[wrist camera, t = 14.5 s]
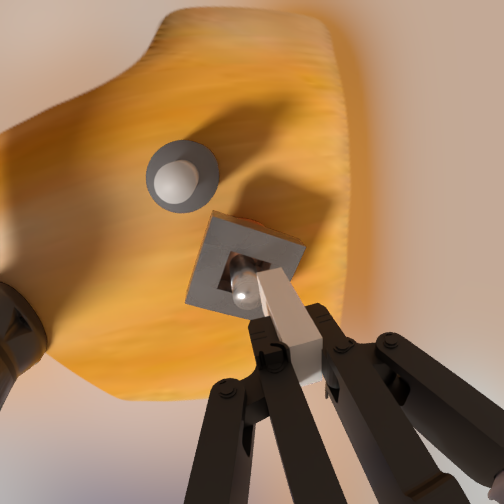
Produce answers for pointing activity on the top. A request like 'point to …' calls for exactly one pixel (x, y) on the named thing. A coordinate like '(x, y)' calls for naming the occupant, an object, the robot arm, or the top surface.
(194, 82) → the top surface
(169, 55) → the top surface
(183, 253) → the top surface
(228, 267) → the hub
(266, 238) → the hollow square frame
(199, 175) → the stand
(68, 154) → the top surface
